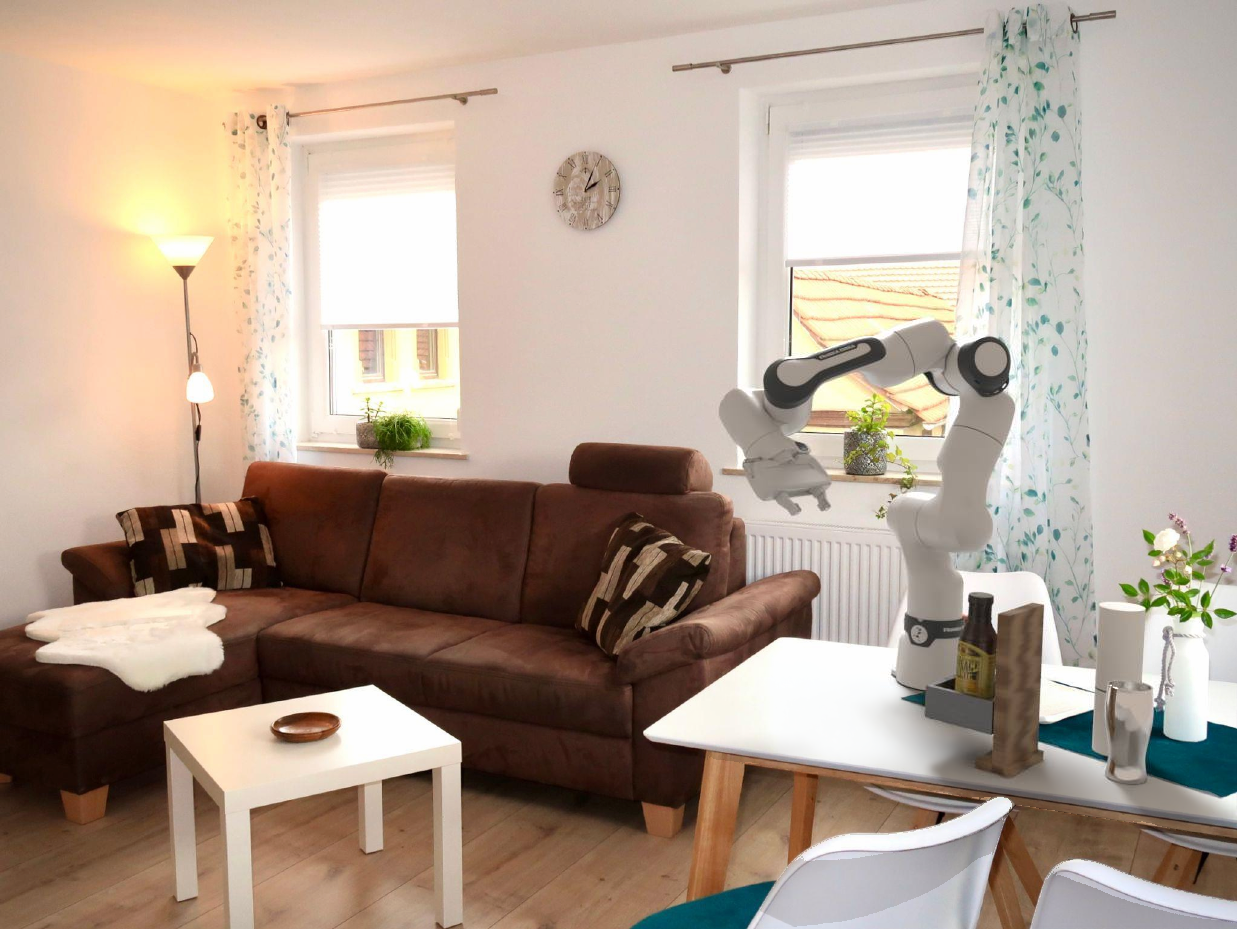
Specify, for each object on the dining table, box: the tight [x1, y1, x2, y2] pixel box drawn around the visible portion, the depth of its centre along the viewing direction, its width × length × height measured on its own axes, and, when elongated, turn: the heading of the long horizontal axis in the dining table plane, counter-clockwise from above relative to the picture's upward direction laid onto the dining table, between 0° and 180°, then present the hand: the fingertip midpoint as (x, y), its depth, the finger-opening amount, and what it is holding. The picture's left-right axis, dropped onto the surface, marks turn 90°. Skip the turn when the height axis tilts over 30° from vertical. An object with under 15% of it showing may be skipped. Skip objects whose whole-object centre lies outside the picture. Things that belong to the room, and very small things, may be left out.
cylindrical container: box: [1091, 601, 1147, 757], centre depth 182 cm, size 7×7×25 cm
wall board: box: [973, 602, 1045, 779], centre depth 175 cm, size 12×6×26 cm, turn 134°
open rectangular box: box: [924, 674, 995, 736], centre depth 180 cm, size 11×12×6 cm
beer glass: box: [1104, 680, 1155, 785], centre depth 170 cm, size 7×7×15 cm
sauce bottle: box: [955, 591, 997, 699], centre depth 180 cm, size 6×6×20 cm
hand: (812, 511), depth 205 cm, fingers open, 8 cm apart
